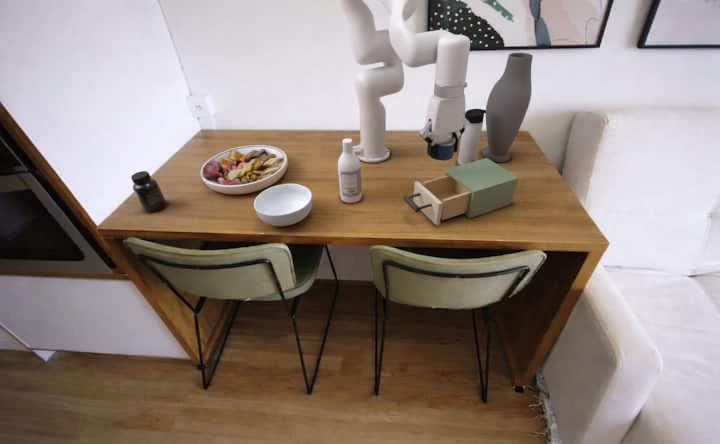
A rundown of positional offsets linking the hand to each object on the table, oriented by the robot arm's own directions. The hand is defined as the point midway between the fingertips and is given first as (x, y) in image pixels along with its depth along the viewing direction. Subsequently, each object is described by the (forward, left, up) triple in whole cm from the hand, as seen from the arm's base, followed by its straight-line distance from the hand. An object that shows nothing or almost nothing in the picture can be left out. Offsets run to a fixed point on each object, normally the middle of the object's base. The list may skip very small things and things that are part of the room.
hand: (442, 153), depth 98 cm
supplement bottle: (-91, +7, -16) cm, 93 cm away
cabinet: (+12, -2, -16) cm, 20 cm away
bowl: (-64, +23, -16) cm, 70 cm away
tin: (0, 0, -1) cm, 1 cm away
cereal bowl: (-47, -4, -16) cm, 50 cm away
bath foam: (-27, +4, -16) cm, 32 cm away
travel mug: (+16, +20, -16) cm, 31 cm away
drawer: (-2, -7, -15) cm, 17 cm away
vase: (+29, +25, -16) cm, 42 cm away
